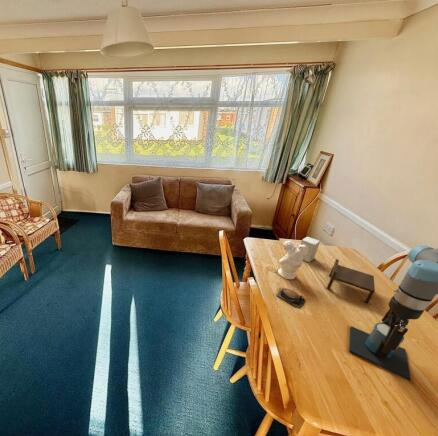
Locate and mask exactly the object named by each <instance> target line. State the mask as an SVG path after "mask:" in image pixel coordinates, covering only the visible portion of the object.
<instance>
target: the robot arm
mask: <svg viewBox="0 0 438 436" xmlns="http://www.w3.org/2000/svg"><path fill="white" fill-rule="evenodd" d="M407 258H408V260H409V261H410V262H411V263H412V264H411V265H410V266H409V268H408V269H407V271H406V273H405V275H404V277H403V278H402V280H401V281H400V284H399V285H398V287H397V288H395V289H393V292H394V293H393V296H392V297H391V299H390V300H389V302H388V303H387V304H388V308H389V309H388V310H387V311H386V313H384V316H383V317H382V318H381V323H384V324H387V325H389V326H390V328H389V330H388V333H387V335H386V337H385V340H384V342H383V341H380V343H381V344H380V345H379V347H378V348H377V350H376V352H375V355H377V356H379V357H381V358H383V359H385V358H386V357H387V355H388V354H389V352H390V351H391V350H393V351H395V350H396V348H397V347H398V345H399V343H400V341H401V340H402V338H403V336H404V337H405V335H406V333H407V332H409V329H408V328H407V326H408V325H409V322H410V321H409V320H418V319H420V318H421V316H422V315H423V313H424V312H425V310H427V309H428V307H429V306H430V304H431V303H432V301H433V300H434V298H435V297H436V296H437V295H438V248H434V247H431V246H428V245H418V246H415V247H413V248H411V249H410V250H409V251H408V253H407Z"/></svg>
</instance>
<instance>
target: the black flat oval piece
mask: <svg viewBox="0 0 438 436" xmlns="http://www.w3.org/2000/svg"><path fill="white" fill-rule="evenodd" d="M276 296H277V297H278V298H280V299H282V300H283V301H285V302H286V303H289V304H290V305H293V306H295V307H297V308H301V307H302V306H303V304H304V303H305V301H306V299H305V297H304V296H303V295H299V293H298V292H296V291H295V290H293V289H290V288H284V287H282V288H281V289H280V290H279V291H278V292H277V293H276Z"/></svg>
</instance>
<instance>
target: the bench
mask: <svg viewBox="0 0 438 436" xmlns="http://www.w3.org/2000/svg"><path fill="white" fill-rule="evenodd" d="M339 261H340V260H339V259H338V258H335V260H334V263H333V265H332V268H331V270H330V273H329V274H328V275H329V277H330V279H329V281H328V284H327V287H326V290H331V288H332V285H333V283H334V281H337V282H339V283H340V282H341V283H343V284H346V285H349V286H351V287H355V288H357V289H360V290H364V291H367V292H368V294H367V296H366V298H365V300H364V304H366V305H368V304H369V303H370V301H371V300H372V297H373V296H374V294H375V293H376V287H375V285H376V284H375V276H374V275H372V274H369V273H366V272H363V271H360V270H356V269H354V268H351V267H350V268H349V267H346V266H343V265H340V264H339Z"/></svg>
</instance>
